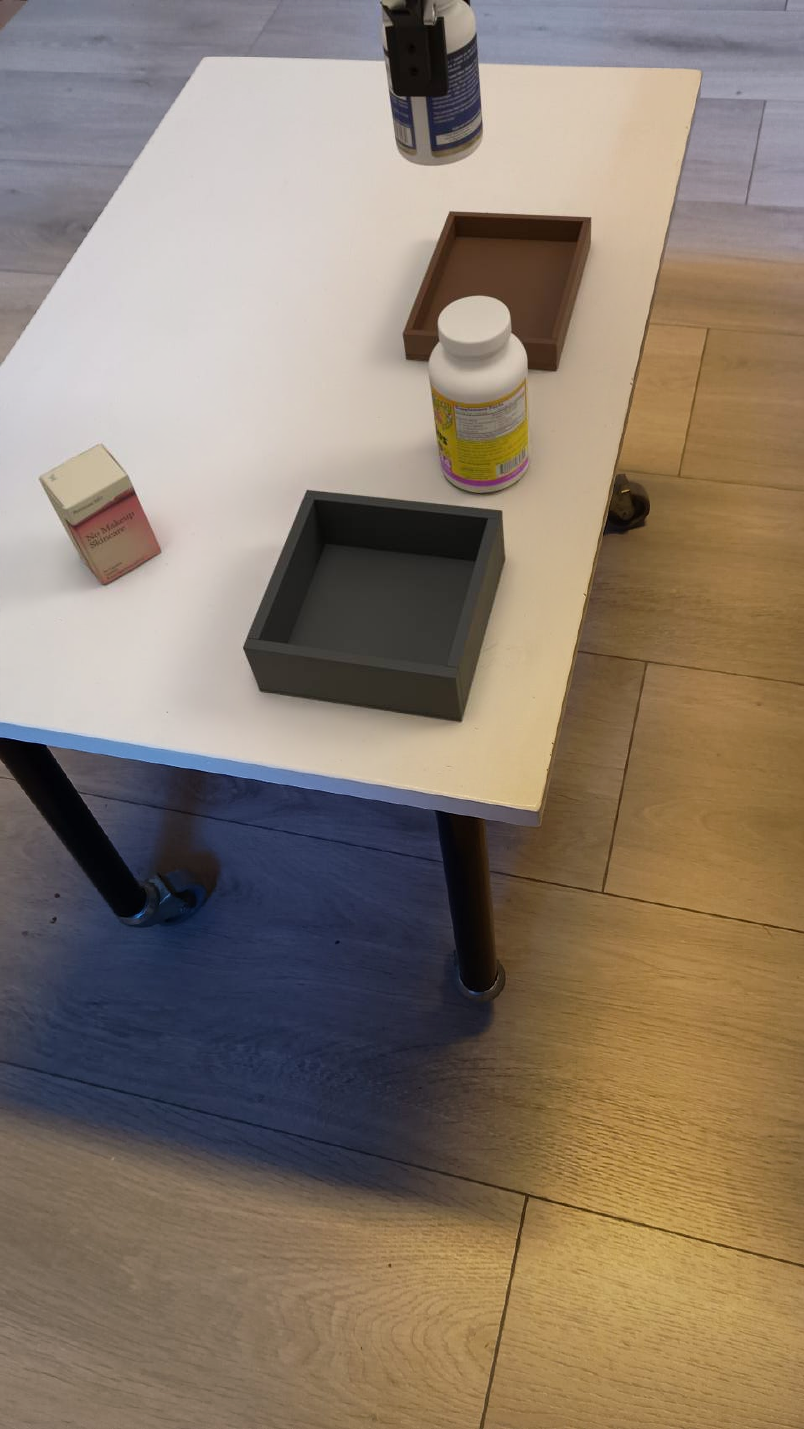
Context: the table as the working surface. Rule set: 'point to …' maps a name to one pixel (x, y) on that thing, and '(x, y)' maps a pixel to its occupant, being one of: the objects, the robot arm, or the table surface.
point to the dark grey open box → (379, 604)
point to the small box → (101, 513)
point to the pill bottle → (443, 98)
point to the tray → (505, 278)
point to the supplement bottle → (480, 396)
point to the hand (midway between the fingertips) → (433, 61)
